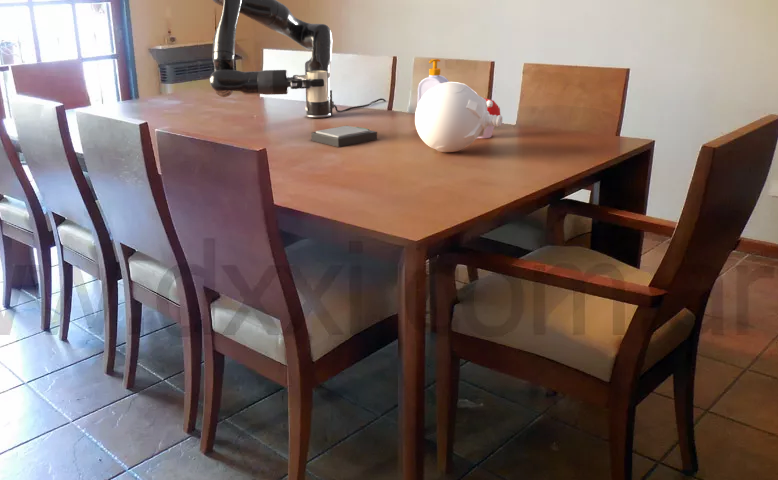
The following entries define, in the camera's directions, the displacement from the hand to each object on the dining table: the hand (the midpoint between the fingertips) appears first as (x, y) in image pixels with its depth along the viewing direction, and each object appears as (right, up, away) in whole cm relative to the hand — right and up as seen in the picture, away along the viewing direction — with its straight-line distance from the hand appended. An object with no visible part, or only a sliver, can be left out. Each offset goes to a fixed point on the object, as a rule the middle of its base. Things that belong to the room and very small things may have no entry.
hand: (324, 81), depth 217 cm
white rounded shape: (+38, -27, -18) cm, 50 cm away
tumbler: (-2, -6, +3) cm, 6 cm away
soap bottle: (+37, -13, +13) cm, 41 cm away
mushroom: (+51, -17, +1) cm, 54 cm away
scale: (+6, -18, +2) cm, 19 cm away
